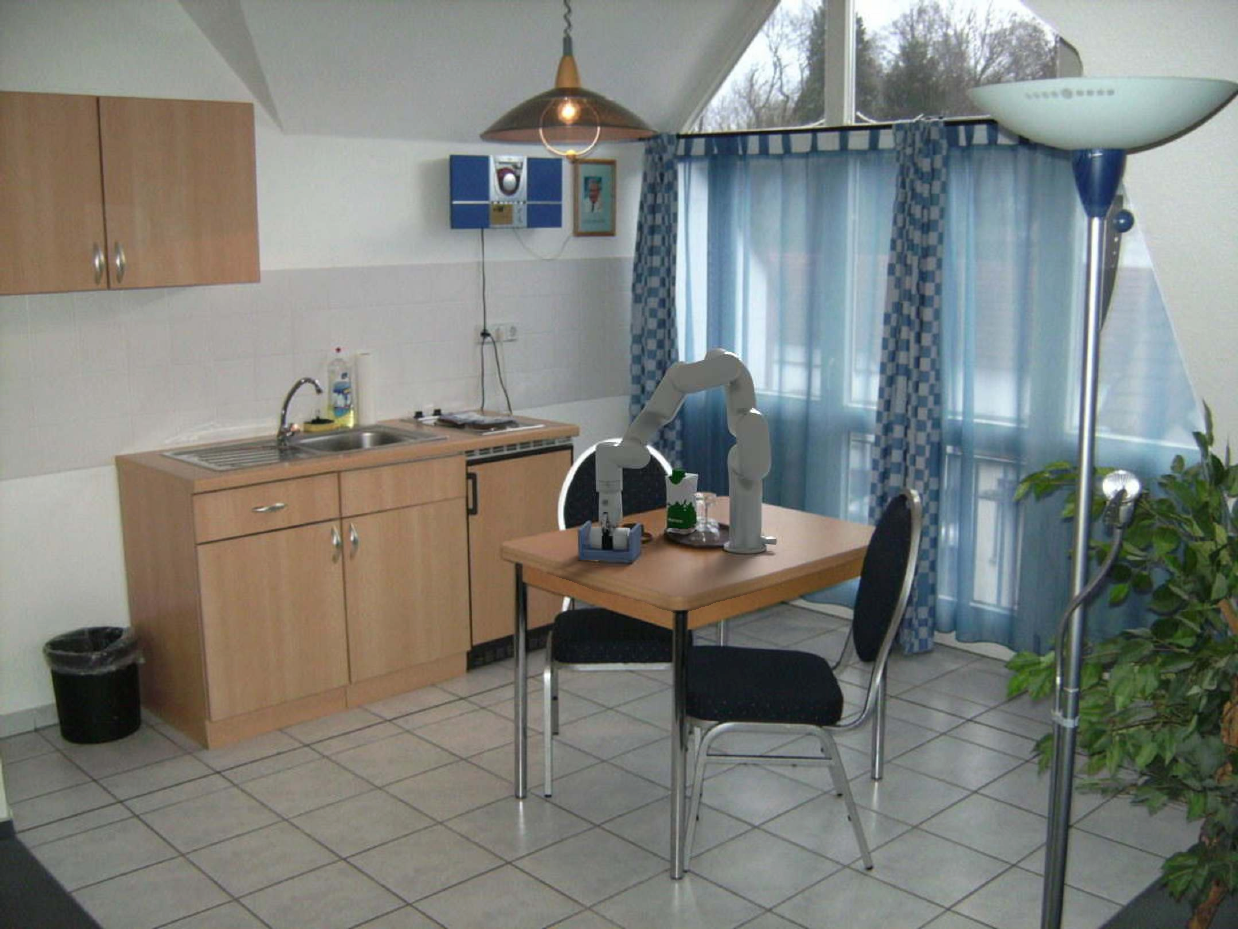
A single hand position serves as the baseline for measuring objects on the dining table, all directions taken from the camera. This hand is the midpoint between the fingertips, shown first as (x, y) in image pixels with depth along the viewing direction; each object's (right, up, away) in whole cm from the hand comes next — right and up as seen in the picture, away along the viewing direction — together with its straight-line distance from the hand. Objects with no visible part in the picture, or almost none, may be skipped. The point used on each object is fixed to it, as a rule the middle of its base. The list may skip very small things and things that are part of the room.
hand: (610, 545), depth 366 cm
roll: (0, -1, 0) cm, 1 cm away
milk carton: (+22, +2, +29) cm, 36 cm away
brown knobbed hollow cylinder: (+4, -1, +17) cm, 18 cm away
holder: (0, -3, +1) cm, 3 cm away
